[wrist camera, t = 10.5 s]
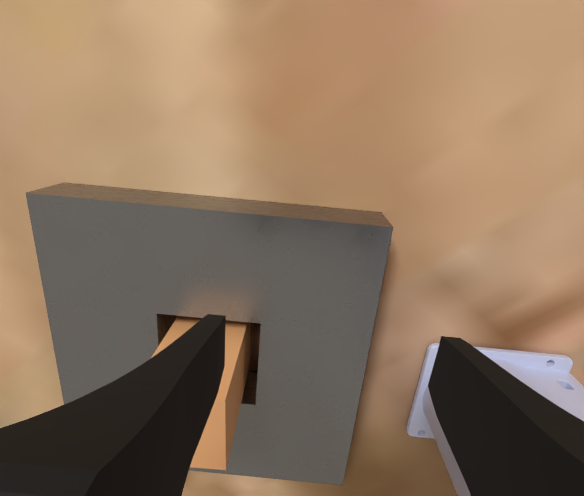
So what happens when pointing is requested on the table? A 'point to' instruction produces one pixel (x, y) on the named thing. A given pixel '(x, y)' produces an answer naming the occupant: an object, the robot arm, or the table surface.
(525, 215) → the table surface
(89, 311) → the collar
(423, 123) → the table surface
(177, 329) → the tan square post
